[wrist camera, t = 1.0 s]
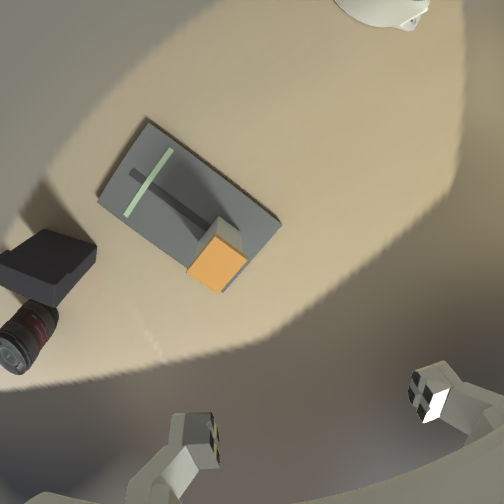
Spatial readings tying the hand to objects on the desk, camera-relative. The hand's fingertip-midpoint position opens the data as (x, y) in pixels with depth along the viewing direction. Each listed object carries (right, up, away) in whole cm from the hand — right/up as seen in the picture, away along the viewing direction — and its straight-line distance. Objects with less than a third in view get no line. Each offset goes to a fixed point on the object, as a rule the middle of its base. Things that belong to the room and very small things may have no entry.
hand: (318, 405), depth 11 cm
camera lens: (-42, -5, +39) cm, 58 cm away
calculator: (-33, +7, +35) cm, 48 cm away
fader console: (-12, +12, +34) cm, 38 cm away
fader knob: (-7, +8, +34) cm, 36 cm away
